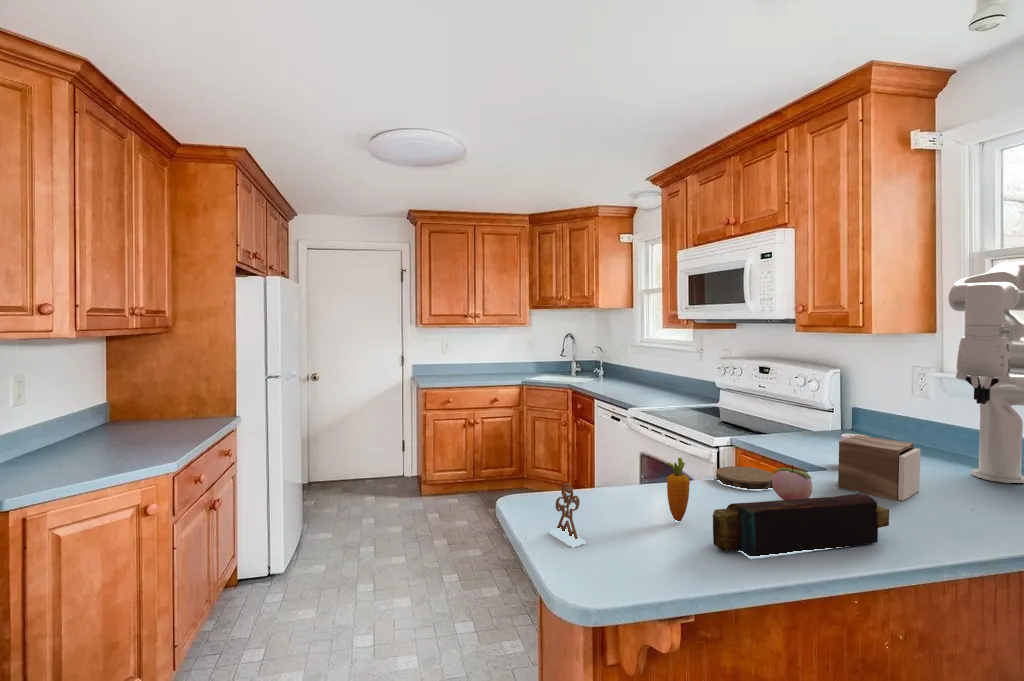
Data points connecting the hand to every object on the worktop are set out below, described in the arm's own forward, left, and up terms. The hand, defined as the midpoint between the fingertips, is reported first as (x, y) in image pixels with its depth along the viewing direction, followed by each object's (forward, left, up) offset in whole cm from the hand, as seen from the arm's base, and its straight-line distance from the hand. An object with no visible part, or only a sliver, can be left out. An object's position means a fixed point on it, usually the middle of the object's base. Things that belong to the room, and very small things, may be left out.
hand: (981, 402), depth 144 cm
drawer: (+9, -19, -25) cm, 33 cm away
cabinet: (+9, -21, -26) cm, 34 cm away
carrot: (+74, -41, -26) cm, 88 cm away
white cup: (-12, -33, -26) cm, 43 cm away
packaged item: (+64, -18, -26) cm, 72 cm away
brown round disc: (+31, -47, -26) cm, 62 cm away
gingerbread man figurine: (+100, -51, -26) cm, 115 cm away
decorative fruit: (+40, -30, -26) cm, 56 cm away
